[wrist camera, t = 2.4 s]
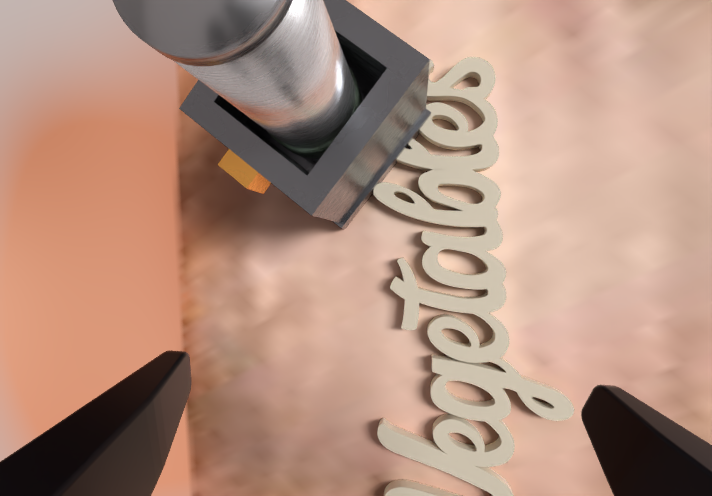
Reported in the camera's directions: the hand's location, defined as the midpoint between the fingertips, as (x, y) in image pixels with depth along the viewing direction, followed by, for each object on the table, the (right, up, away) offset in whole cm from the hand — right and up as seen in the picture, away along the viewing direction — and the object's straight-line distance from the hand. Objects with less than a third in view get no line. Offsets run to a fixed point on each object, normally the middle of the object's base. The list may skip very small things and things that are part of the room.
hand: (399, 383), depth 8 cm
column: (-2, +9, +11) cm, 15 cm away
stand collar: (-2, +9, +12) cm, 16 cm away
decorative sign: (+5, 0, +12) cm, 13 cm away
